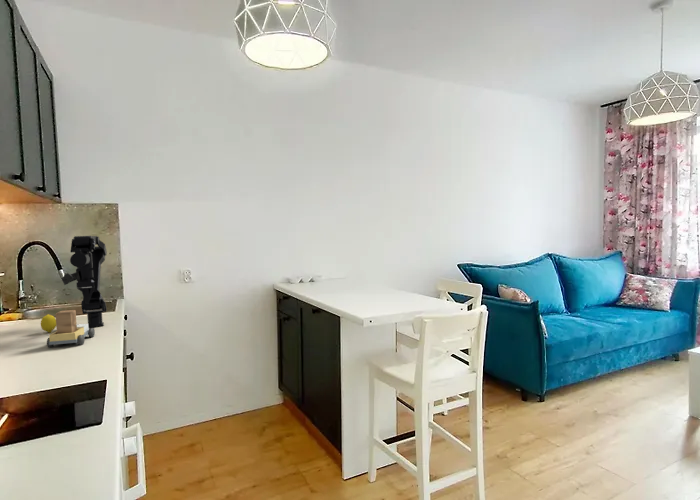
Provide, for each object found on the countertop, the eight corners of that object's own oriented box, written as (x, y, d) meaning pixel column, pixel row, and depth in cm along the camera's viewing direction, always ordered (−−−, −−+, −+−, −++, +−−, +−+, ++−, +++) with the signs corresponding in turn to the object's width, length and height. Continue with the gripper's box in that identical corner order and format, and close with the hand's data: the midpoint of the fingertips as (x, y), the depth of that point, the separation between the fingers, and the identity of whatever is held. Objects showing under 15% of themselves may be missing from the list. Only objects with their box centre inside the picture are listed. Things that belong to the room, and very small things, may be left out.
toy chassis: (64, 337, 173) (63, 325, 173) (95, 335, 176) (94, 322, 175) (45, 349, 157) (44, 335, 157) (80, 346, 160) (79, 332, 160)
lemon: (60, 330, 185) (58, 312, 184) (50, 334, 180) (48, 315, 179) (48, 330, 186) (47, 312, 185) (38, 334, 180) (36, 315, 180)
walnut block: (62, 336, 164) (61, 310, 164) (77, 335, 166) (75, 309, 165) (57, 339, 160) (55, 313, 159) (72, 338, 161) (70, 312, 160)
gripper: (63, 265, 183) (65, 301, 184) (60, 268, 167) (63, 307, 168) (93, 264, 189) (95, 298, 189) (93, 266, 173) (95, 304, 173)
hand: (87, 302), depth 180 cm, fingers open, 9 cm apart
